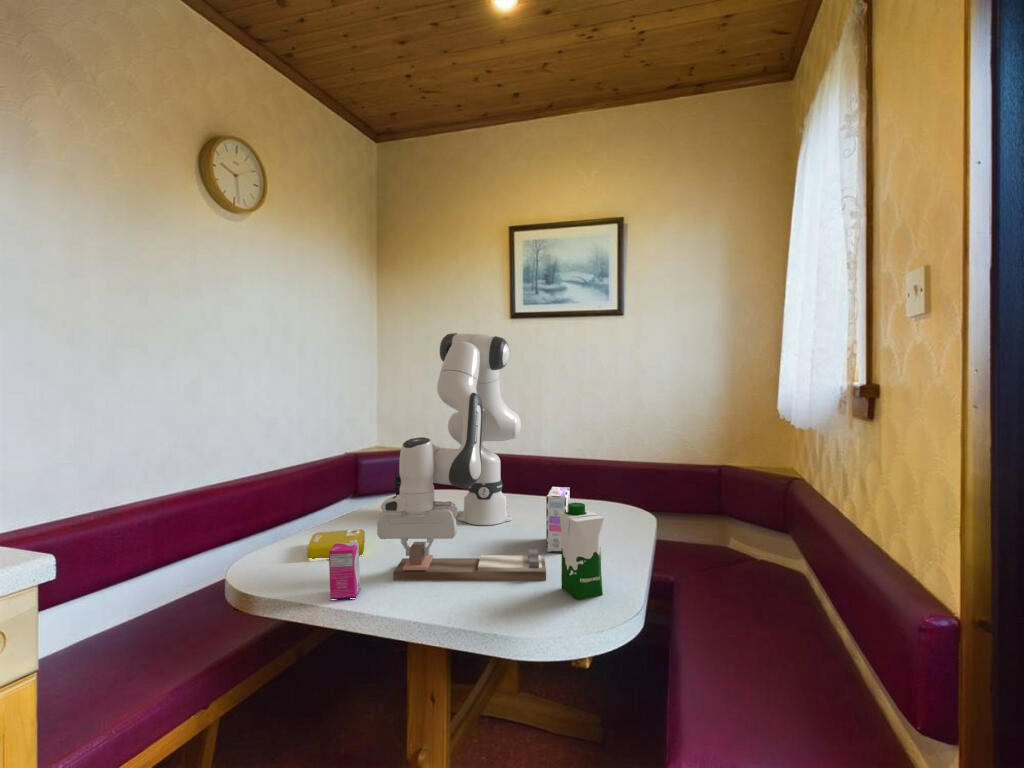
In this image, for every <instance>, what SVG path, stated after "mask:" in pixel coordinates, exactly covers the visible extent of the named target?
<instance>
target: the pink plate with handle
mask: <svg viewBox="0 0 1024 768" xmlns="http://www.w3.org/2000/svg"><path fill="white" fill-rule="evenodd" d="M426 543H427V541H413V543H412V544H411V546H409V547H410V549H409V556H408V560H407V561H406V563H405V565H404V566H403V570H427V569H428V567H429V565H430V563H431V561H432V559H433V558H434V554H429V556H423V548H424V547H427V546H426Z"/></svg>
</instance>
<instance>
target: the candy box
mask: <svg viewBox="0 0 1024 768" xmlns="http://www.w3.org/2000/svg"><path fill="white" fill-rule="evenodd" d="M570 493H571V492H570V487H567V486H565V487H561V486H552V487H551V488H550V490H549V491H548V494H547V495H546V498H545V499H546V500H545V501H546V507H545V508H546V509H545V512H546V516H545V517H546V518H545V519H546V520H545V521H546V525H545V526H546V535H545V537H546V552H548V553H556V554H557V553H558V554H559V553H561V524H560V515H559V513H564V512H568V504H569V503H571V502H570V501H571V497H570Z"/></svg>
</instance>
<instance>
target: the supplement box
mask: <svg viewBox="0 0 1024 768" xmlns="http://www.w3.org/2000/svg"><path fill="white" fill-rule="evenodd" d="M328 564H329V565H328V567H329V570H328V571H329V599H350V598H356V599H357V597H356V596H358V595H359V593H360V591H361V573H360V570H361V569H360V557H359V542H352V543H335V544H334V545H333V547H332V548H331V549H330V551H329V560H328ZM359 590H360V591H359ZM358 592H359V593H358ZM357 594H358V595H357Z"/></svg>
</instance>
